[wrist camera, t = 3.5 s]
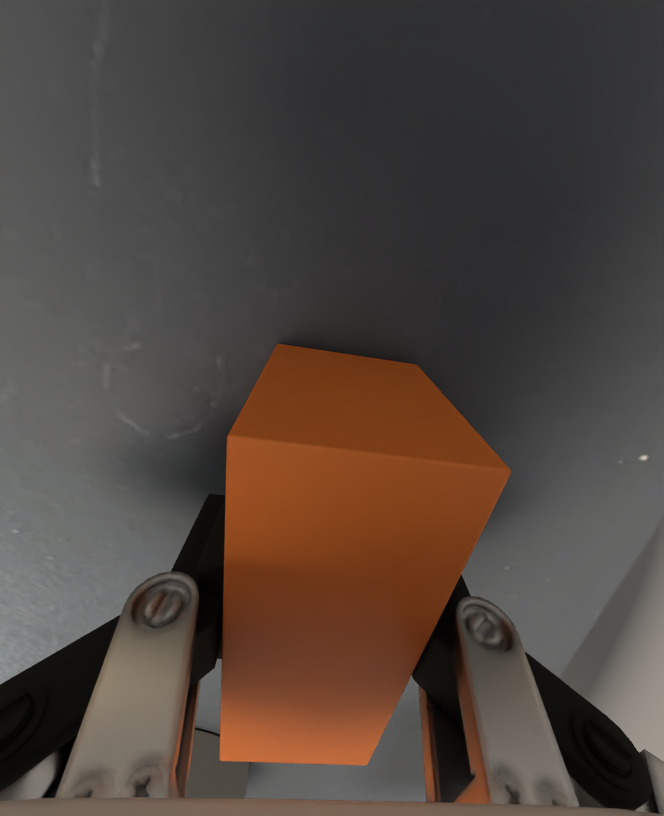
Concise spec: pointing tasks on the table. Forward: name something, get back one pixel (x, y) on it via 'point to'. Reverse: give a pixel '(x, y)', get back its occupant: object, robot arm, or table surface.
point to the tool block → (340, 549)
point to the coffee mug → (214, 771)
